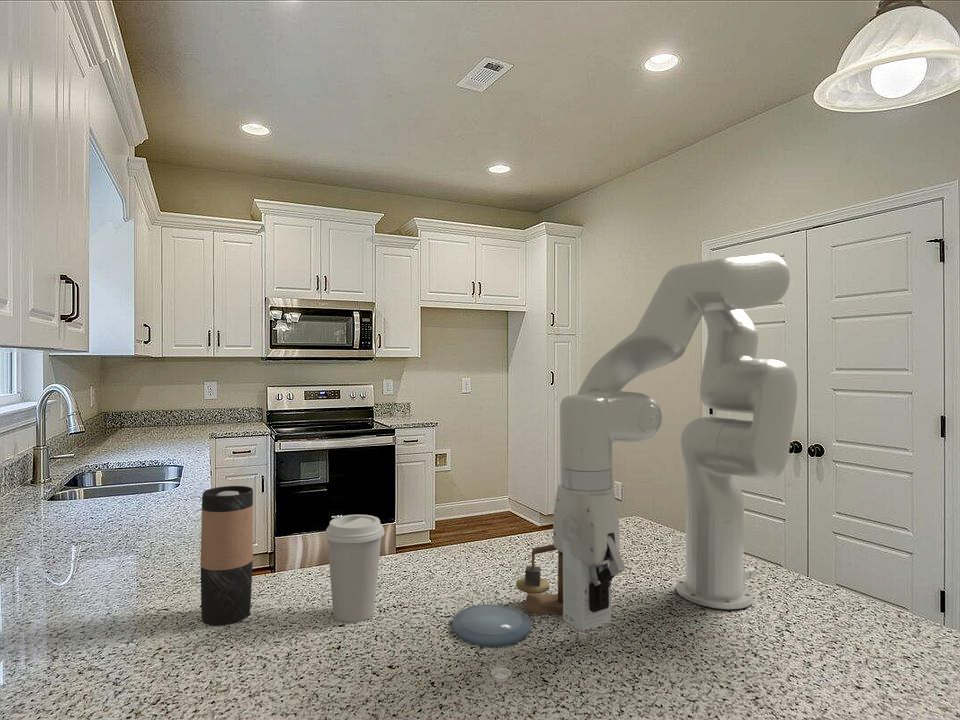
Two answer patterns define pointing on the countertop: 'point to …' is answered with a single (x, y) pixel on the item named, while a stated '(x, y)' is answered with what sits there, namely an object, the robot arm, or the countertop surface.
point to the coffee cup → (354, 565)
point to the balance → (541, 586)
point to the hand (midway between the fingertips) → (587, 601)
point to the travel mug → (226, 554)
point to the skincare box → (580, 593)
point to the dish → (491, 625)
